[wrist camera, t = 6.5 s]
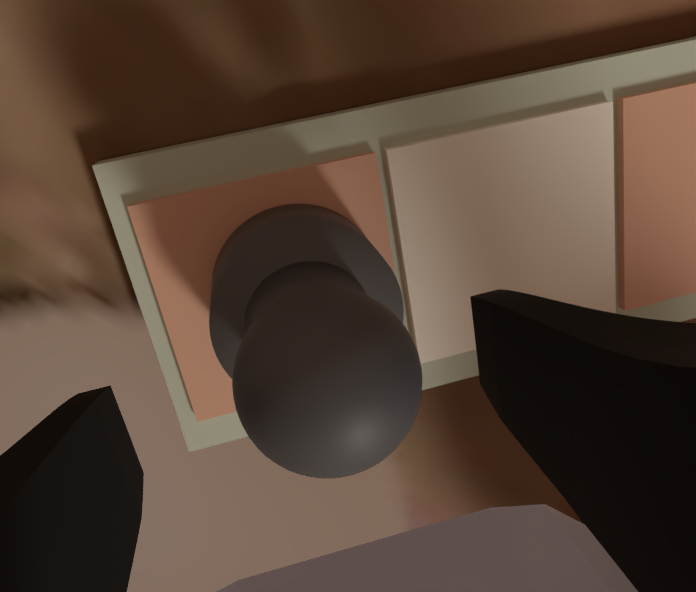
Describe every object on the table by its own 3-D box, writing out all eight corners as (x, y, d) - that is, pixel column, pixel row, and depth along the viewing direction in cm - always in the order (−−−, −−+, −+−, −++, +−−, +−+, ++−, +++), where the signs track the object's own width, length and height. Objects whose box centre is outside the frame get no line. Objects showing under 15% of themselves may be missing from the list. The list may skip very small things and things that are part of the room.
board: (954, 236, 22) (989, 244, 21) (190, 436, 19) (188, 457, 18) (1009, -29, 19) (1054, -35, 18) (98, 161, 16) (89, 167, 15)
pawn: (391, 340, 18) (489, 503, 11) (235, 380, 17) (241, 575, 11) (365, 186, 16) (461, 270, 9) (191, 225, 16) (163, 342, 9)
